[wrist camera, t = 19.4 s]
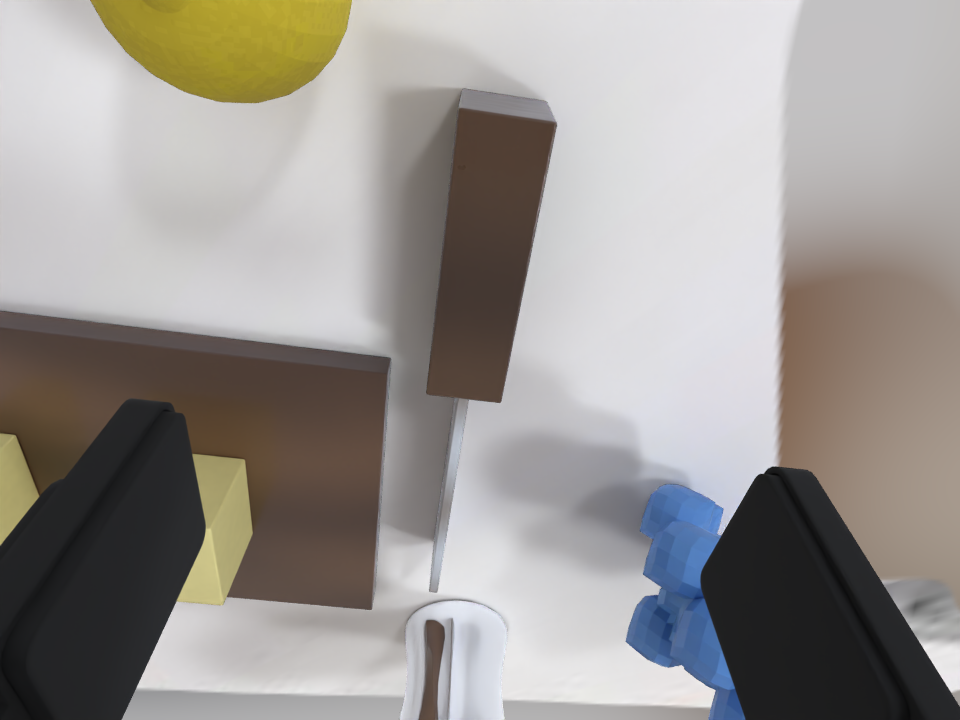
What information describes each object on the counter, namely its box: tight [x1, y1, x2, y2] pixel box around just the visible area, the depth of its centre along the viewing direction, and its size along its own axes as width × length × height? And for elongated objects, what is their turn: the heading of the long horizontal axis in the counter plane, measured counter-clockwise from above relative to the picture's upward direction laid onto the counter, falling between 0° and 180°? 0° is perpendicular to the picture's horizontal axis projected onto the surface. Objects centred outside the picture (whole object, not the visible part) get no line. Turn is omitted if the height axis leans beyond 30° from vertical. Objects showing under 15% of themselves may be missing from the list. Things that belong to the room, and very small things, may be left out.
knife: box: [426, 89, 557, 593], centre depth 24 cm, size 22×3×3 cm, turn 172°
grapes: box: [626, 484, 745, 720], centre depth 24 cm, size 12×7×12 cm, turn 32°
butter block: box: [177, 454, 253, 605], centre depth 26 cm, size 5×6×4 cm
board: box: [0, 311, 391, 610], centre depth 28 cm, size 16×20×1 cm
